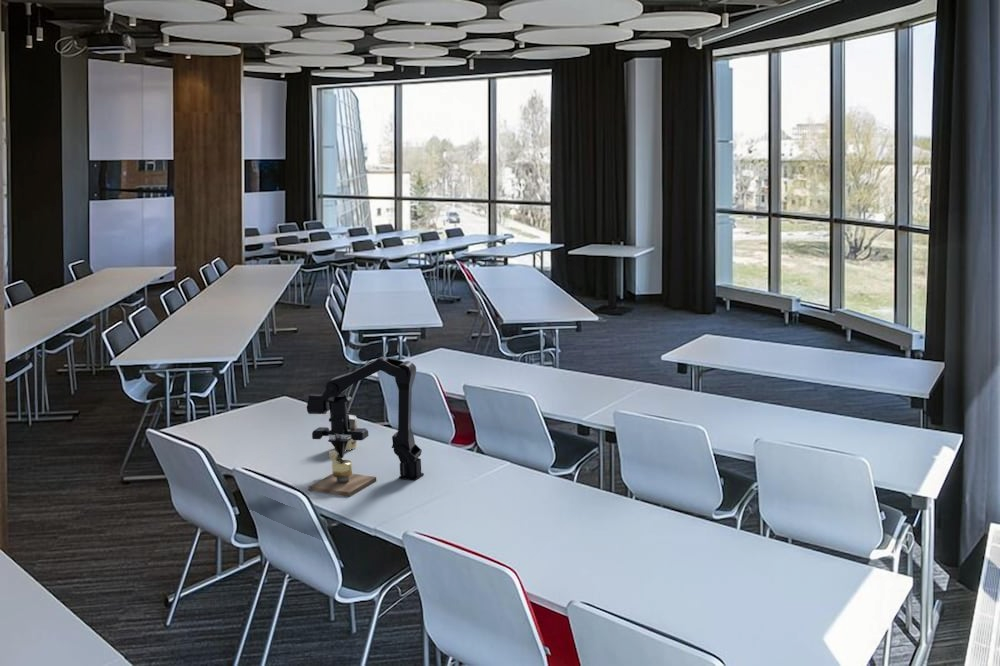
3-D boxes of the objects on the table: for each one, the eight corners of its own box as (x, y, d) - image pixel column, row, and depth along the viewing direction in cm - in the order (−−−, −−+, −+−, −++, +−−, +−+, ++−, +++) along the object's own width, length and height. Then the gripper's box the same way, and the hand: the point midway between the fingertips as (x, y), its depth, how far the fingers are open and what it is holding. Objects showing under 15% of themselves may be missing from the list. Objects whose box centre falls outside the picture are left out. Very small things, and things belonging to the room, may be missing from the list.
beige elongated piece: (354, 475, 304) (353, 464, 304) (334, 478, 302) (334, 467, 301) (341, 460, 321) (341, 449, 320) (323, 463, 318) (322, 451, 318)
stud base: (376, 481, 311) (375, 470, 310) (349, 496, 296) (349, 485, 296) (336, 475, 317) (336, 465, 317) (308, 490, 303) (308, 480, 302)
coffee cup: (356, 451, 344) (354, 420, 342) (331, 452, 344) (329, 421, 342) (360, 444, 353) (358, 414, 351) (336, 444, 353) (334, 414, 351)
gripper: (372, 408, 320) (376, 451, 322) (323, 407, 325) (327, 450, 327) (360, 416, 309) (363, 461, 312) (309, 415, 314) (313, 459, 317)
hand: (342, 457), depth 317 cm, fingers closed
